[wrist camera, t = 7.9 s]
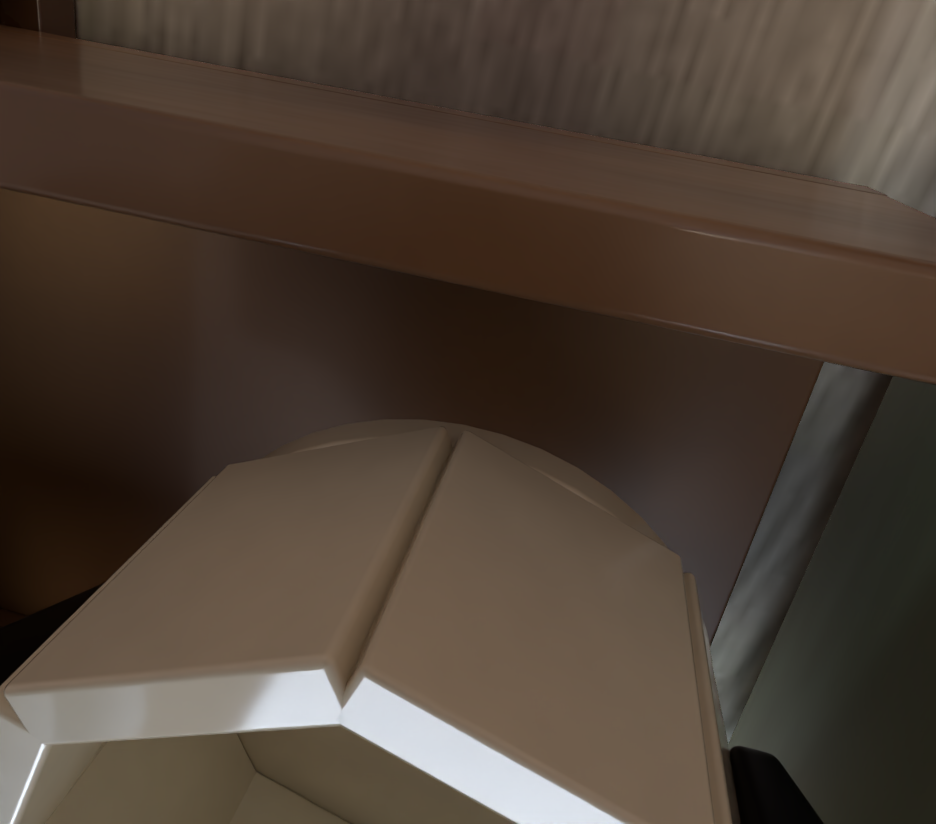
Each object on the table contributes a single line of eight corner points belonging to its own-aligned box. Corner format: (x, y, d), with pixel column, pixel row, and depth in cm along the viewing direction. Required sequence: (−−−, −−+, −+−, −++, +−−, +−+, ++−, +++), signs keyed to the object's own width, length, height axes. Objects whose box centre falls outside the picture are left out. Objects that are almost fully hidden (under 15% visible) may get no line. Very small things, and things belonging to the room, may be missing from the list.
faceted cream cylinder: (839, 620, 7) (1004, 1030, 4) (524, 904, 10) (481, 1284, 7) (305, 302, 7) (47, 489, 4) (128, 685, 10) (-110, 979, 6)
